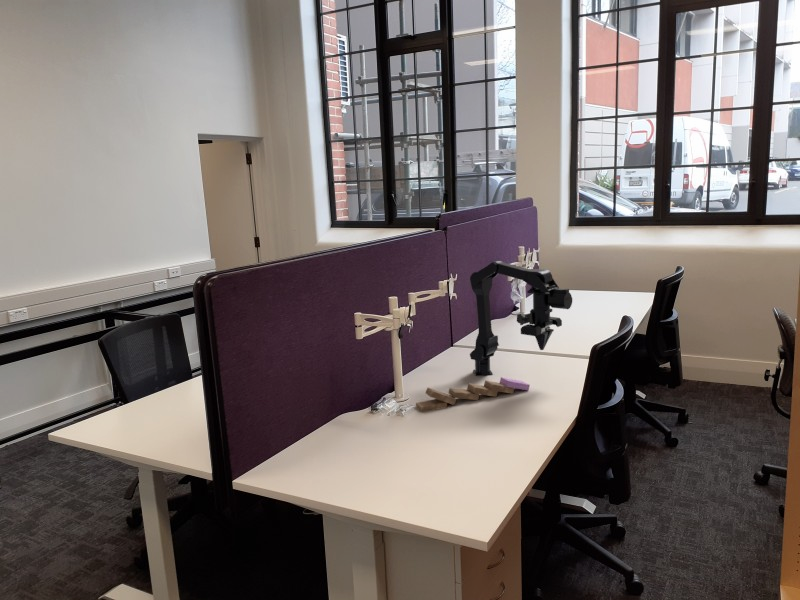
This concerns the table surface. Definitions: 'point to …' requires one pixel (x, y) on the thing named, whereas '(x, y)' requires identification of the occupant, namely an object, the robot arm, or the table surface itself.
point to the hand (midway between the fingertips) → (541, 349)
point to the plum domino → (514, 383)
